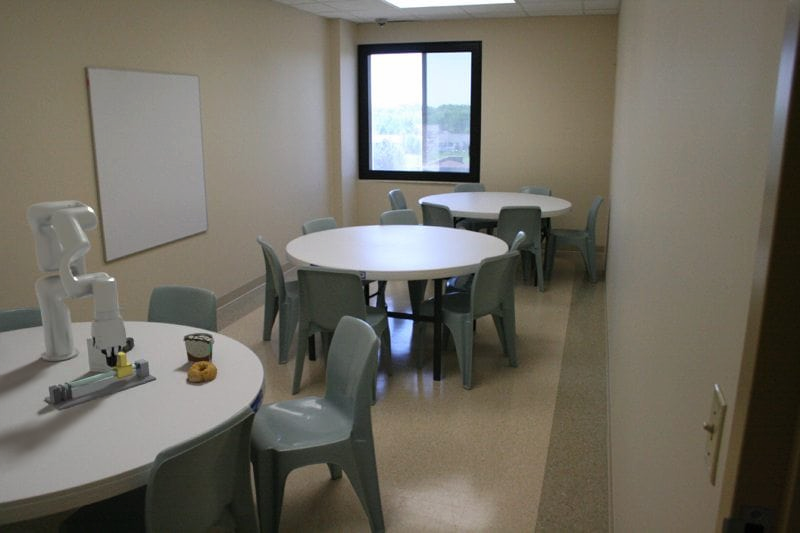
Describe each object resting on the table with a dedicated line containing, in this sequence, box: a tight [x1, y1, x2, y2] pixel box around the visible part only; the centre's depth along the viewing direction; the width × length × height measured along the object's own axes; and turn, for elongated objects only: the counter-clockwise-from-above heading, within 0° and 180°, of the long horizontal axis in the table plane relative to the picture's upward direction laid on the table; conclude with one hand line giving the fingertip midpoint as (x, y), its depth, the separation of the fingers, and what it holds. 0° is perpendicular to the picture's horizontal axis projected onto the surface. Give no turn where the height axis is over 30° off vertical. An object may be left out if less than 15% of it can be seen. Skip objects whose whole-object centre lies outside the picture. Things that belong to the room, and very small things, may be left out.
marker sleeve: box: [112, 352, 133, 379], centre depth 218 cm, size 4×5×8 cm
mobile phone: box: [118, 337, 135, 354], centre depth 247 cm, size 5×3×15 cm
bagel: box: [187, 361, 218, 383], centre depth 224 cm, size 10×11×5 cm
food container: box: [183, 332, 215, 364], centre depth 239 cm, size 12×6×10 cm, turn 71°
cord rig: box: [44, 358, 157, 411], centre depth 214 cm, size 12×32×6 cm, turn 140°
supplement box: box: [86, 336, 117, 373], centre depth 230 cm, size 7×7×13 cm
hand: (112, 365), depth 216 cm, fingers closed
